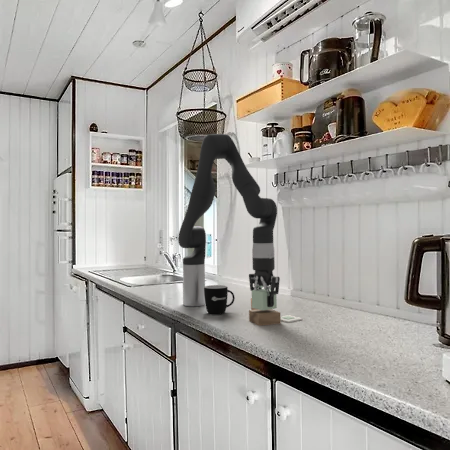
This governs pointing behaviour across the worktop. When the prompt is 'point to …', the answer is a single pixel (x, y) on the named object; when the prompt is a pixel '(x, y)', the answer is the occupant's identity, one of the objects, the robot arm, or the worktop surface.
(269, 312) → the walnut block
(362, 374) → the worktop surface
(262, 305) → the sage cube
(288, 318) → the tile
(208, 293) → the mug
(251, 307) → the terracotta cylinder
